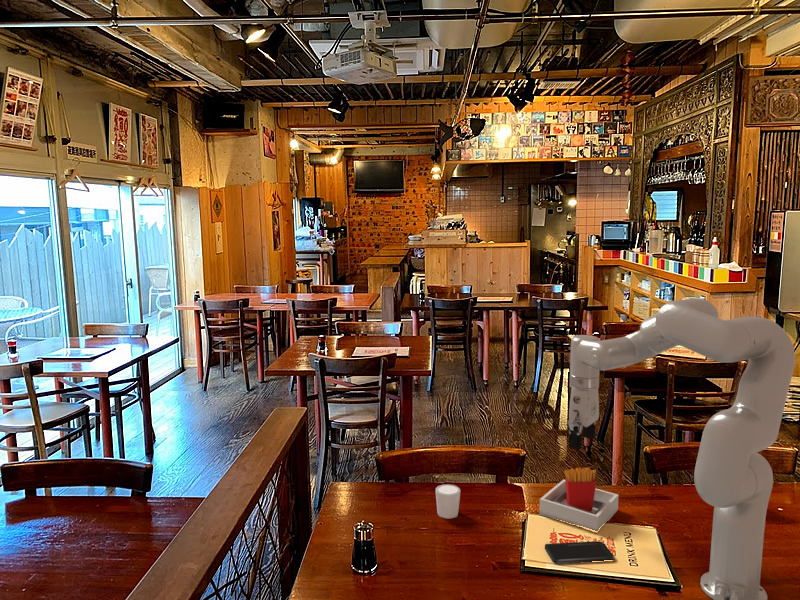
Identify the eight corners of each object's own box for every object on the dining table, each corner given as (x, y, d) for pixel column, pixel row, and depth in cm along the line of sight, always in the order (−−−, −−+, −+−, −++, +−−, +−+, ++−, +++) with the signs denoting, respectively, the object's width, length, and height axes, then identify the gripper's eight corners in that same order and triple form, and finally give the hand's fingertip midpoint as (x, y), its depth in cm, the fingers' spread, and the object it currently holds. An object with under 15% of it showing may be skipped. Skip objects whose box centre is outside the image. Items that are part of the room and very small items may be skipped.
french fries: (591, 505, 166) (592, 464, 164) (596, 512, 162) (598, 470, 160) (561, 506, 165) (562, 465, 164) (566, 513, 161) (567, 471, 160)
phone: (616, 558, 140) (554, 561, 139) (615, 563, 140) (553, 566, 139) (602, 540, 148) (543, 543, 147) (602, 545, 148) (543, 547, 147)
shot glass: (464, 516, 162) (465, 492, 161) (441, 521, 159) (442, 496, 158) (453, 505, 168) (453, 482, 167) (431, 510, 165) (431, 486, 165)
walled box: (596, 533, 153) (597, 516, 152) (539, 514, 163) (539, 499, 162) (617, 510, 165) (618, 494, 165) (563, 493, 175) (563, 479, 175)
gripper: (585, 390, 150) (583, 456, 152) (609, 377, 164) (607, 437, 166) (557, 386, 155) (555, 449, 157) (582, 373, 168) (580, 431, 170)
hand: (582, 443), depth 161 cm, fingers open, 9 cm apart
